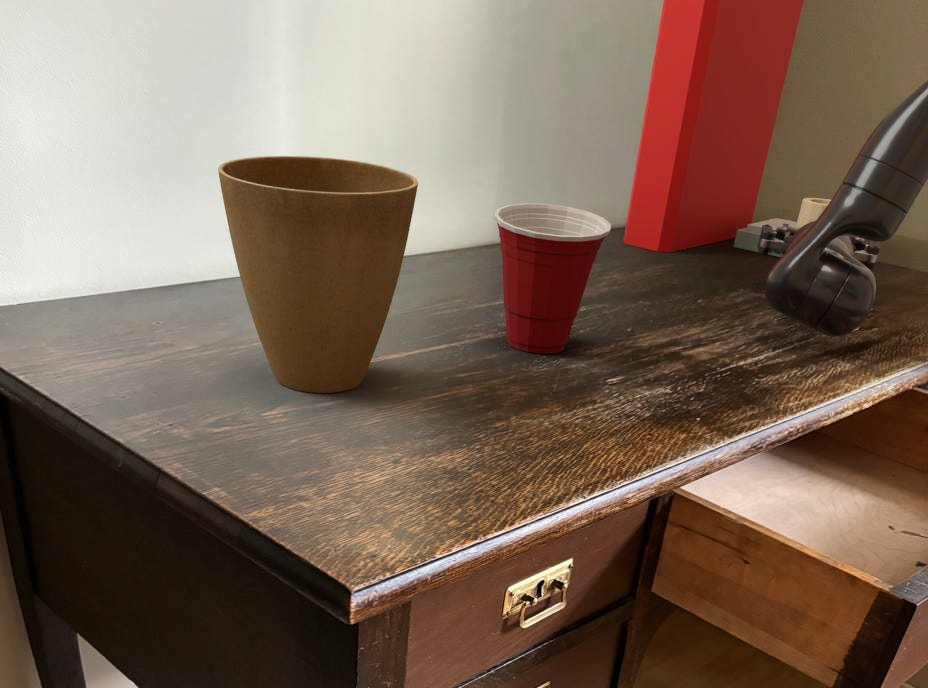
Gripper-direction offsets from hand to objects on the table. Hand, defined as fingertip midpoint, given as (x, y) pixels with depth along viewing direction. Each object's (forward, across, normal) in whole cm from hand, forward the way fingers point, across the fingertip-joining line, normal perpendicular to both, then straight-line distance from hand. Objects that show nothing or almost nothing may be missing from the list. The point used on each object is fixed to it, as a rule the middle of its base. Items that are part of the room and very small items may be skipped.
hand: (817, 236), depth 125 cm
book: (+21, +18, +6) cm, 28 cm away
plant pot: (-68, +40, +6) cm, 79 cm away
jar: (+1, 0, +6) cm, 6 cm away
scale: (+23, +2, +6) cm, 24 cm away
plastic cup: (-48, +26, +6) cm, 55 cm away
